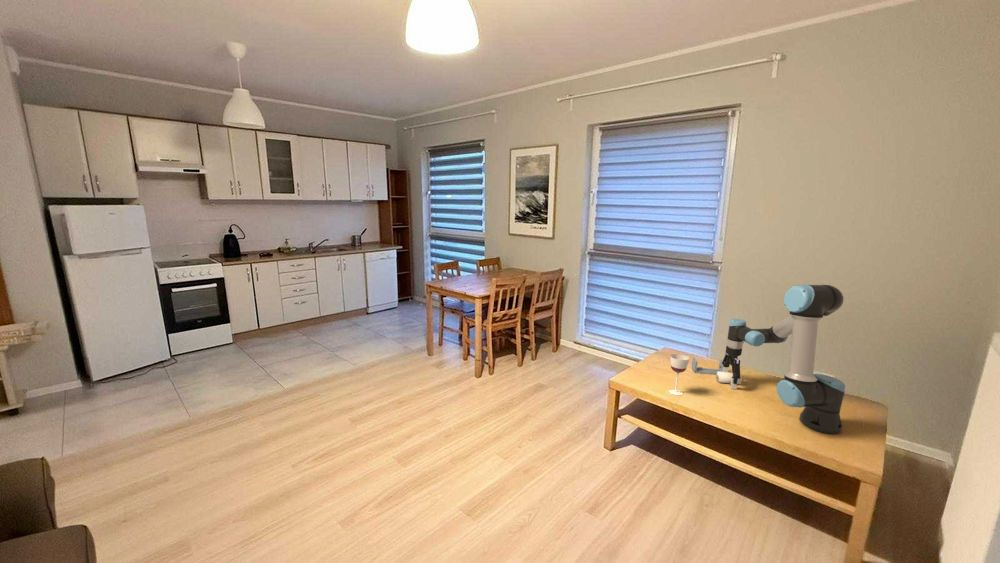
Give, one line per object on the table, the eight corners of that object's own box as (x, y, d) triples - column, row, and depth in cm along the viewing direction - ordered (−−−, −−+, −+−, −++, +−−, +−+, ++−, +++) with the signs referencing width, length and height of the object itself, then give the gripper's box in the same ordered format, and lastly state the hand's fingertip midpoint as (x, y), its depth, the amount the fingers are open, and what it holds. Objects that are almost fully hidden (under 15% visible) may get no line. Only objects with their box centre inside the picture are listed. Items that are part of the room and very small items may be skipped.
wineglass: (687, 396, 204) (691, 360, 200) (670, 396, 205) (674, 359, 200) (680, 389, 212) (684, 354, 208) (664, 388, 212) (668, 353, 208)
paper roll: (737, 384, 222) (737, 373, 223) (742, 384, 216) (742, 373, 217) (715, 382, 224) (715, 371, 225) (719, 382, 218) (719, 371, 219)
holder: (723, 375, 230) (725, 364, 229) (694, 372, 233) (695, 361, 232) (720, 370, 236) (721, 359, 235) (691, 368, 239) (692, 357, 238)
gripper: (751, 356, 203) (745, 394, 207) (733, 339, 227) (728, 374, 231) (735, 354, 204) (729, 392, 209) (719, 338, 228) (714, 373, 232)
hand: (728, 383), depth 220 cm, fingers open, 12 cm apart
